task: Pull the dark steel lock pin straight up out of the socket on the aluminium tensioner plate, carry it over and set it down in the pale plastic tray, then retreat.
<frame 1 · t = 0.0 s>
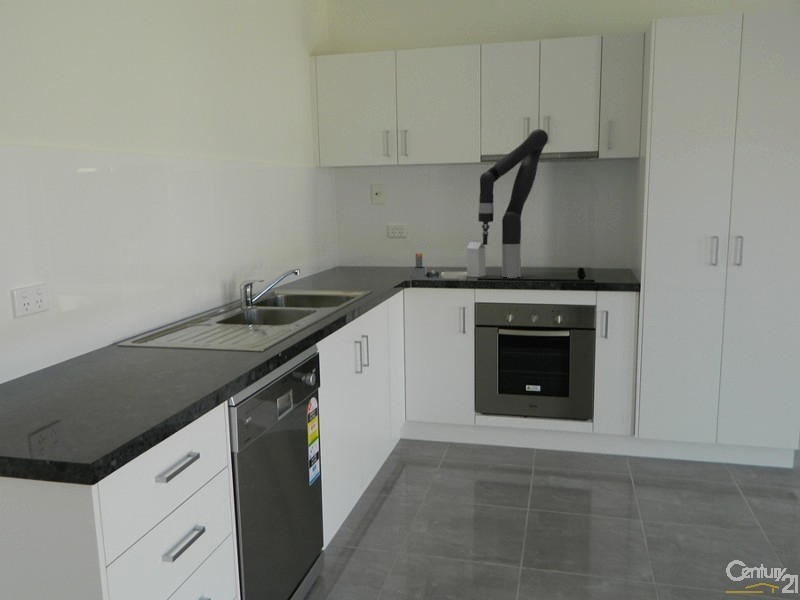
hand: (485, 244, 343), 17 cm above the worktop, tool pointing down, fingers open, 8 cm apart
tray: (454, 279, 343), on the worktop
tensioner: (426, 279, 346), on the worktop
milk carton: (476, 276, 351), on the worktop
lock pin: (419, 276, 346), point 1 cm above the worktop, touching tensioner
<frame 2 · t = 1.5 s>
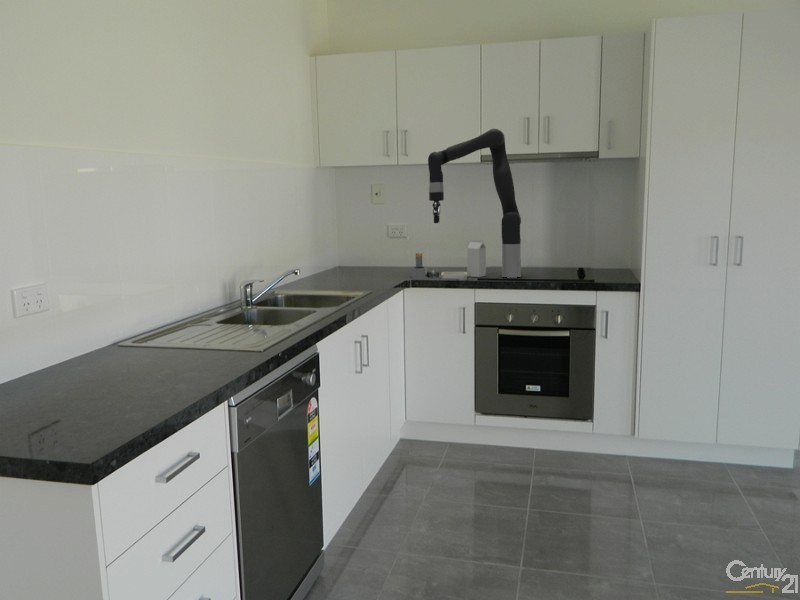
hand: (436, 222, 350), 28 cm above the worktop, tool pointing down, fingers open, 8 cm apart
nothing on the worktop moved.
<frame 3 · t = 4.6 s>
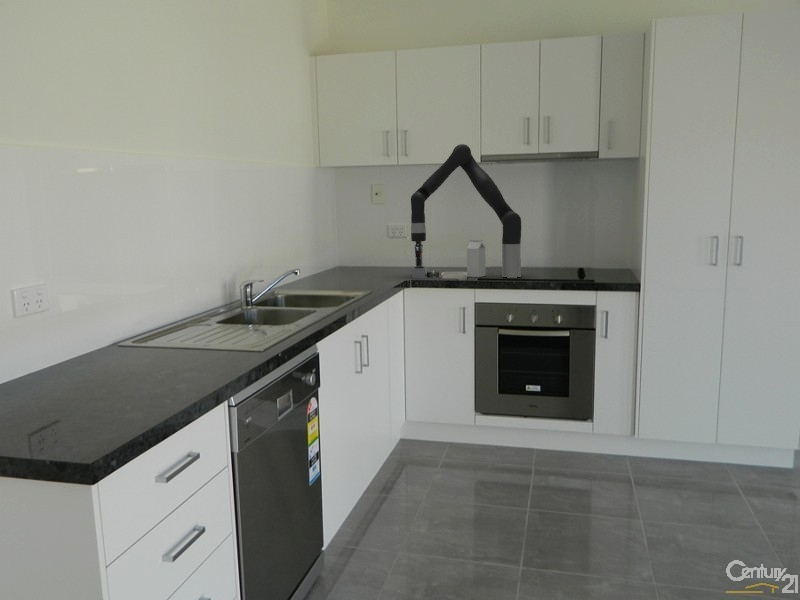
hand: (419, 265, 345), 7 cm above the worktop, tool pointing down, fingers closed on lock pin, 3 cm apart
lock pin: (419, 276, 346), point 1 cm above the worktop, touching gripper, tensioner
everything else where it was.
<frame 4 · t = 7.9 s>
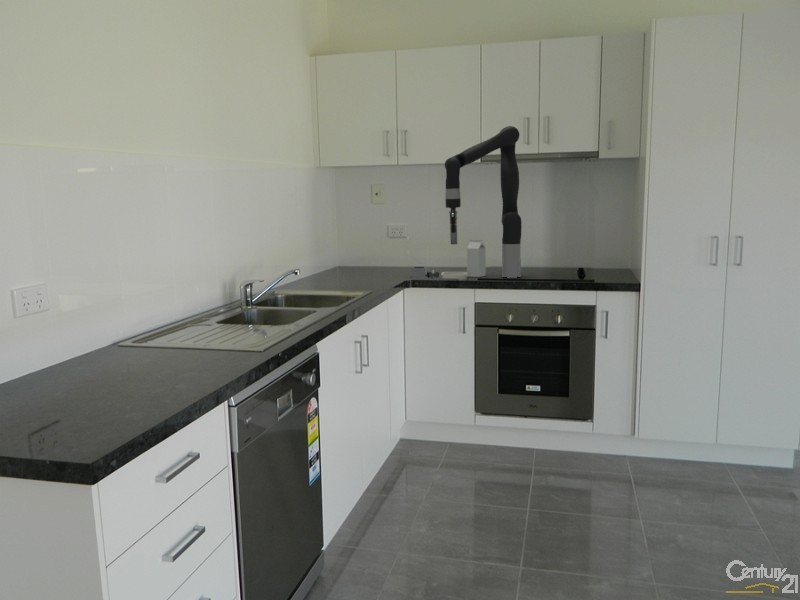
hand: (453, 232, 339), 24 cm above the worktop, tool pointing down, fingers closed on lock pin, 3 cm apart
lock pin: (453, 244, 340), point 18 cm above the worktop, touching gripper
everything else where it was.
when the fingers open (8 cm above the worktop, at t = 11.3 s): lock pin drops 1 cm, resting on tray.
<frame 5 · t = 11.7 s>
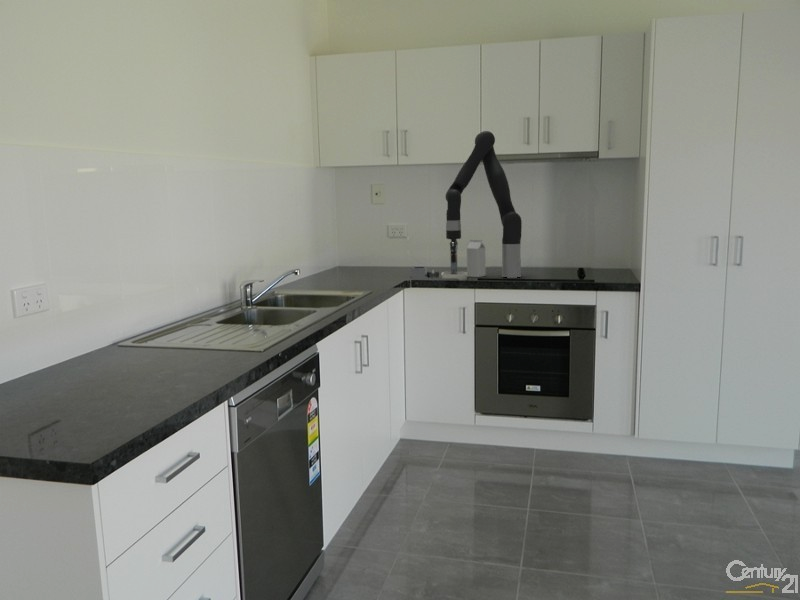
hand: (454, 261, 342), 9 cm above the worktop, tool pointing down, fingers open, 7 cm apart
lock pin: (454, 277, 343), point 1 cm above the worktop, touching tray
everything else where it was.
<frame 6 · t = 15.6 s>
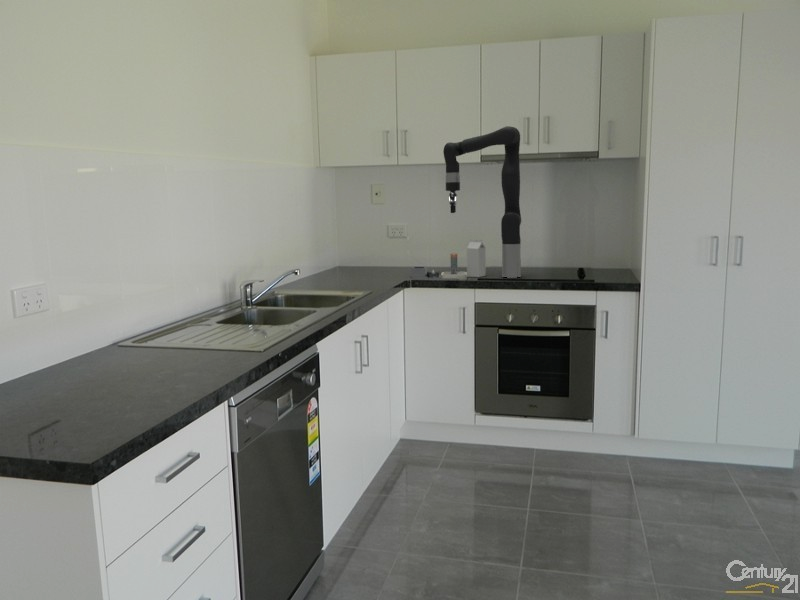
hand: (453, 212, 355), 33 cm above the worktop, tool pointing down, fingers open, 8 cm apart
nothing on the worktop moved.
at the end: lock pin inside the target area on the tray (0.0 cm from its centre), point 0.8 cm above the tray's base; the gripper is holding nothing; lock pin moved 18.0 cm from its start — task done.
